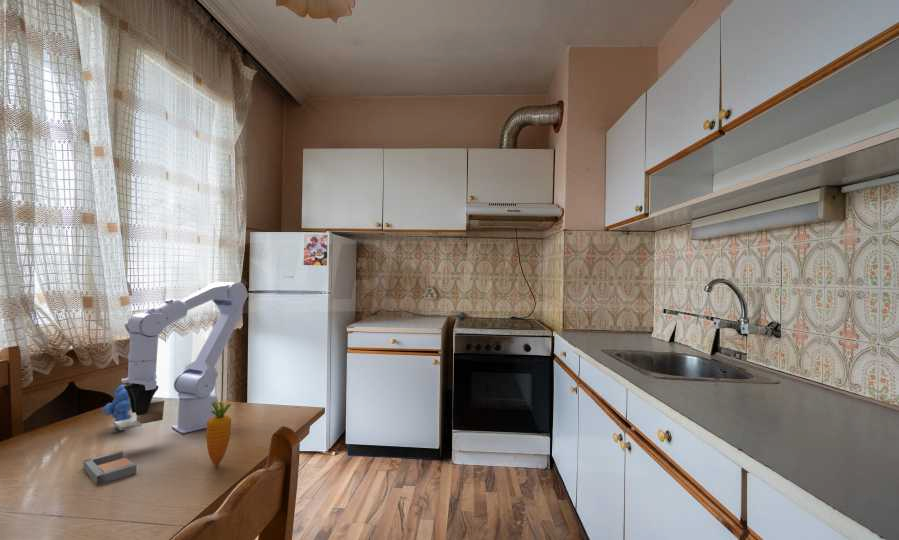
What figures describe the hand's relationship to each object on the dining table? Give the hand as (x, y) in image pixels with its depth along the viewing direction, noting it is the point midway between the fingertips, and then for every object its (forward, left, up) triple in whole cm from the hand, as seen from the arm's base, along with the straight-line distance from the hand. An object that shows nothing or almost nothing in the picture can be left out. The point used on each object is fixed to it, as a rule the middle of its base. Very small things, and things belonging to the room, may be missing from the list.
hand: (139, 413), depth 99 cm
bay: (+7, +11, -8) cm, 16 cm away
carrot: (-8, +26, -9) cm, 29 cm away
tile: (+7, +11, -9) cm, 16 cm away
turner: (0, 0, -3) cm, 3 cm away
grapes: (0, -18, -9) cm, 20 cm away
